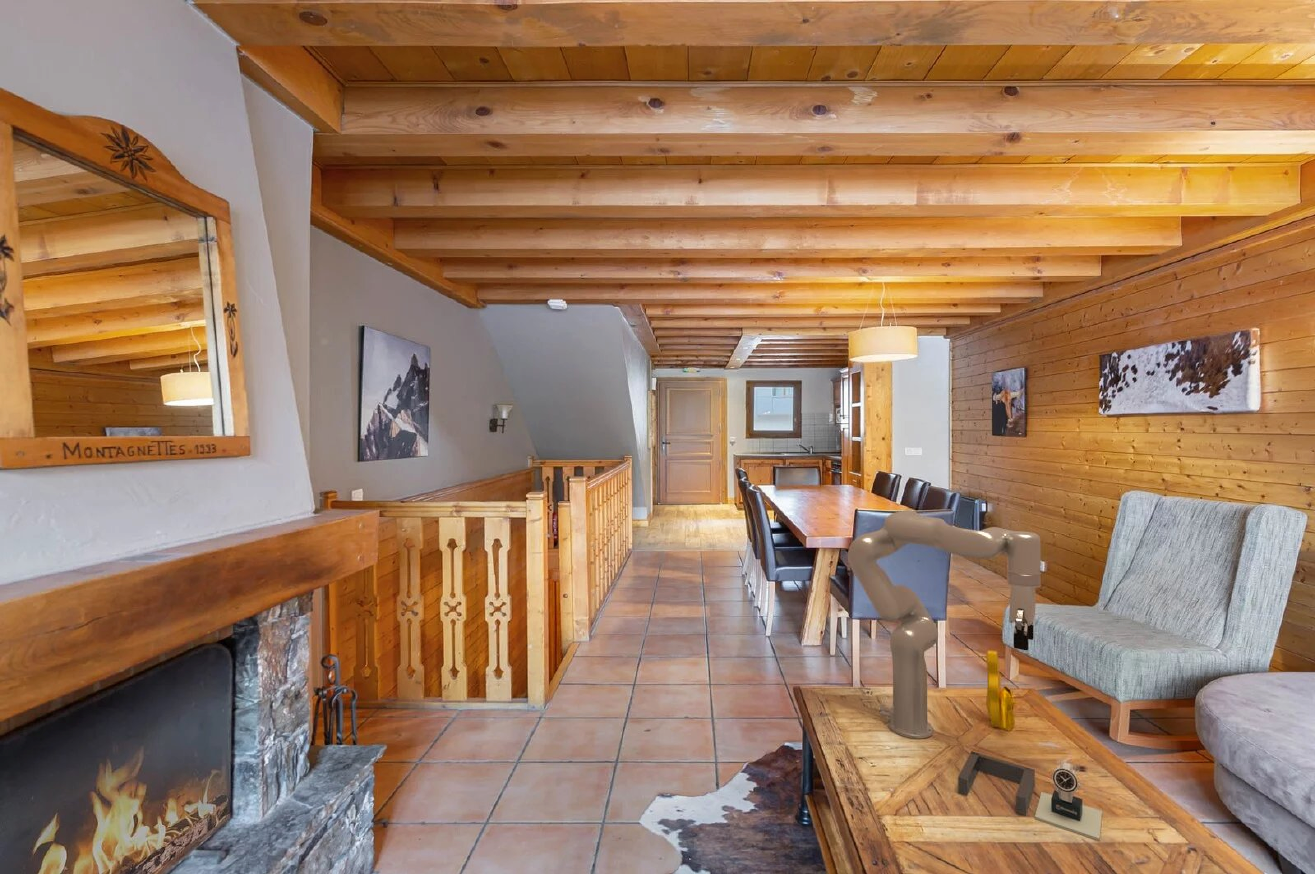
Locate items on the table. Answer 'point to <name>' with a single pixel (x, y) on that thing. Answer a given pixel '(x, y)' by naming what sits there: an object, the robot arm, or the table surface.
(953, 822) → the table surface
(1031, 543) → the robot arm
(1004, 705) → the figure statuette
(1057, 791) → the watch
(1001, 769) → the u-shaped metal bracket
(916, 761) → the table surface
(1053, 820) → the sage mat
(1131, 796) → the table surface
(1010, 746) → the table surface
